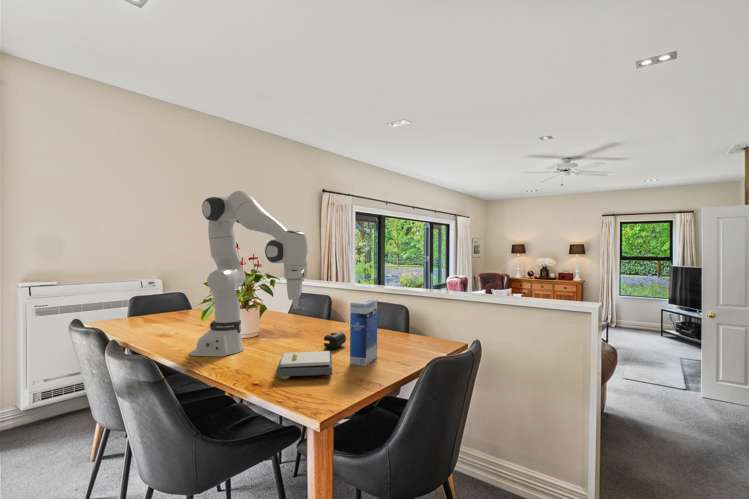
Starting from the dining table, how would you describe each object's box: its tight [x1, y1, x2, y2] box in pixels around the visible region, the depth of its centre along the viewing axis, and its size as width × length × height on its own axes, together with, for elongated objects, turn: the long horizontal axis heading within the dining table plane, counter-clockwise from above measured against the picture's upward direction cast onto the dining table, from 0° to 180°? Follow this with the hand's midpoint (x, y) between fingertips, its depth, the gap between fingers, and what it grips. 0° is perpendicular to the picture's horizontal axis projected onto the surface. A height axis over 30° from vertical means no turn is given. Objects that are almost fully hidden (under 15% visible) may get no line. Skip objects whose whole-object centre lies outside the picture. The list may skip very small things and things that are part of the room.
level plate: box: [277, 350, 331, 367], centre depth 143 cm, size 19×14×3 cm
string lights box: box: [349, 298, 378, 367], centre depth 158 cm, size 13×8×26 cm, turn 157°
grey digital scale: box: [275, 353, 333, 382], centre depth 143 cm, size 20×18×4 cm
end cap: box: [323, 331, 347, 351], centre depth 178 cm, size 10×7×7 cm
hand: (295, 308), depth 142 cm, fingers closed
